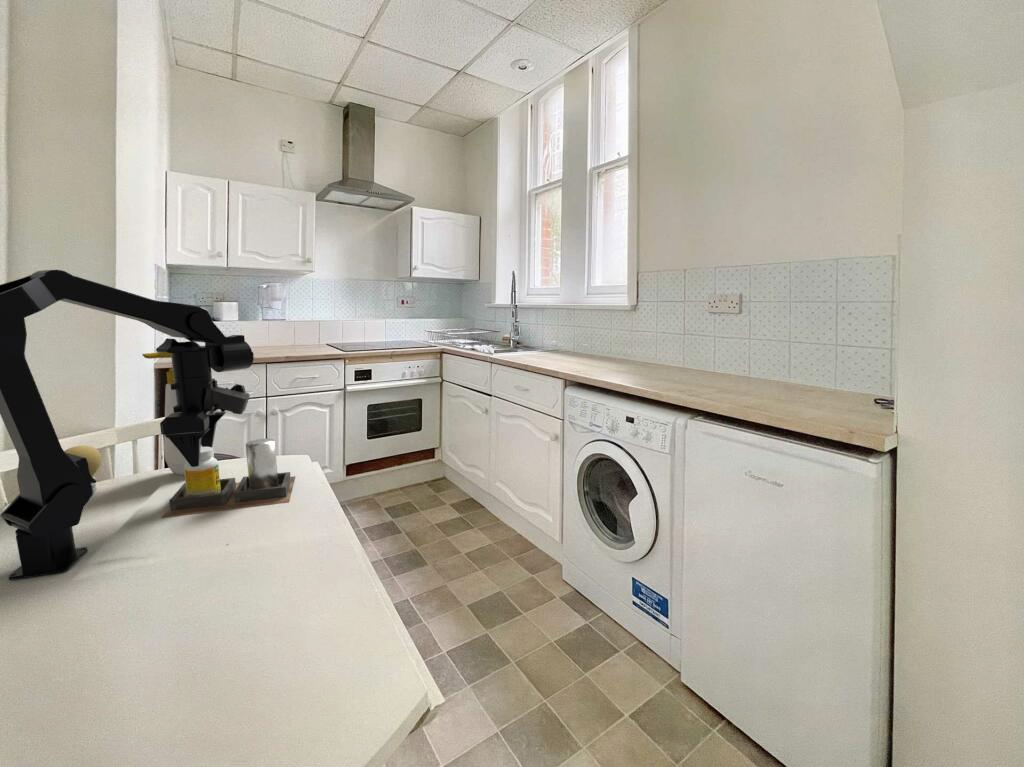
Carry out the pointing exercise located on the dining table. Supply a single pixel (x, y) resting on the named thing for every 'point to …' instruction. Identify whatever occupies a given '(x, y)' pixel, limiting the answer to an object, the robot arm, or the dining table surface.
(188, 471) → the supplement bottle
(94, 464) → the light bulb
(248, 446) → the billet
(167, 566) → the dining table surface
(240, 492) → the brown divided tray
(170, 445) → the soap bottle
